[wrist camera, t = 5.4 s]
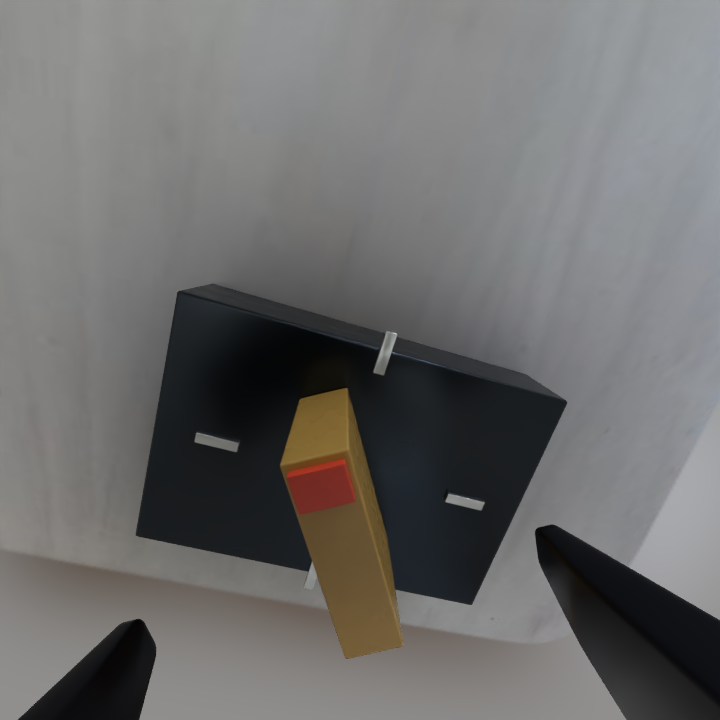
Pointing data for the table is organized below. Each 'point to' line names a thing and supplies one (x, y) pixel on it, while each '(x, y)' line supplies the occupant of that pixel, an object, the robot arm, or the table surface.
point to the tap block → (376, 427)
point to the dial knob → (342, 523)
